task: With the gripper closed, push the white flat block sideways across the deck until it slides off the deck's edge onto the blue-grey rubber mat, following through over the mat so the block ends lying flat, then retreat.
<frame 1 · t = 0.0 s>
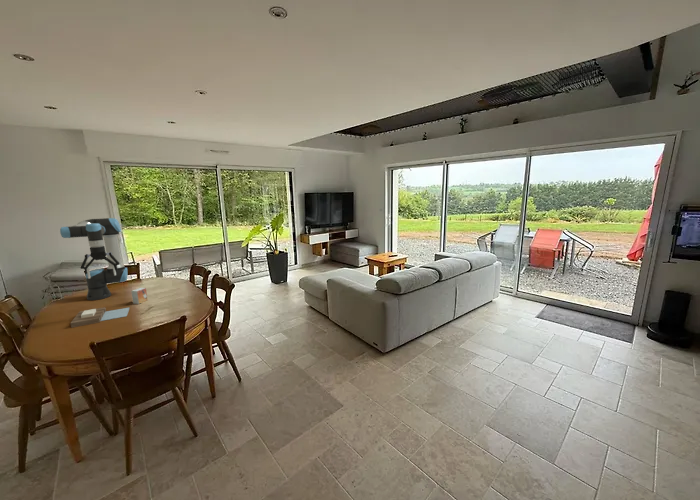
hand: (102, 276, 195), 28 cm above the table, fingers open, 13 cm apart
small box: (140, 302, 223), on the table
white flat block: (89, 314, 193), point 3 cm above the table, touching deck
deck: (89, 318, 194), on the table
mat: (115, 314, 201), on the table
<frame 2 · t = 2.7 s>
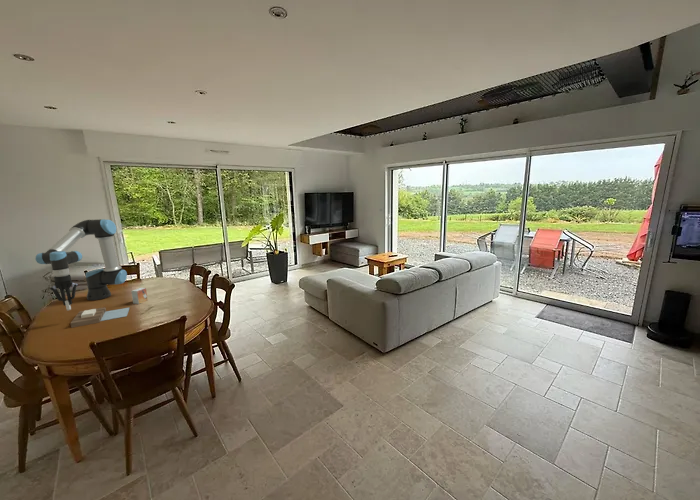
hand: (68, 309, 187), 9 cm above the table, fingers closed
nothing on the table moved.
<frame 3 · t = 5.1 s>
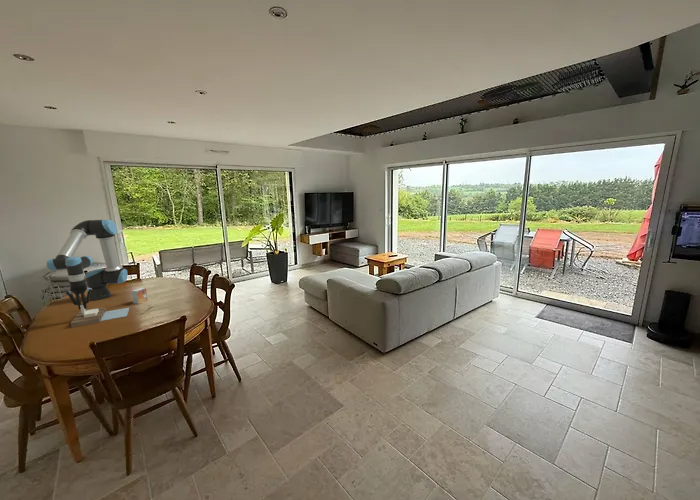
hand: (83, 313, 191), 4 cm above the table, fingers closed
white flat block: (91, 314, 194), point 3 cm above the table, touching deck
everything else where it was.
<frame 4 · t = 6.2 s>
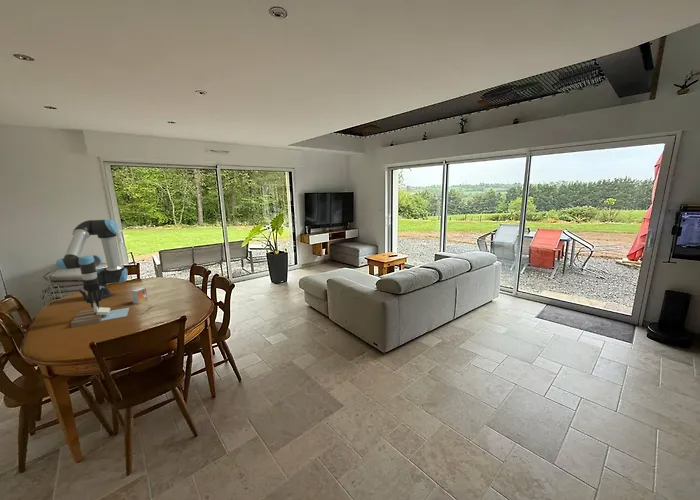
hand: (96, 311, 195), 4 cm above the table, fingers closed
white flat block: (103, 312, 197), point 3 cm above the table, tilted 16°, touching deck
everything else where it was.
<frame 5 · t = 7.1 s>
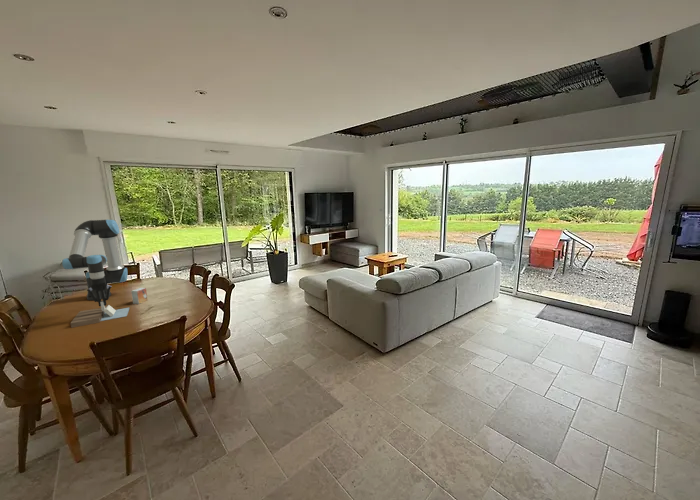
hand: (103, 310, 197), 4 cm above the table, fingers closed
white flat block: (108, 311, 198), point 3 cm above the table, tilted 57°, touching gripper, mat
everything else where it was.
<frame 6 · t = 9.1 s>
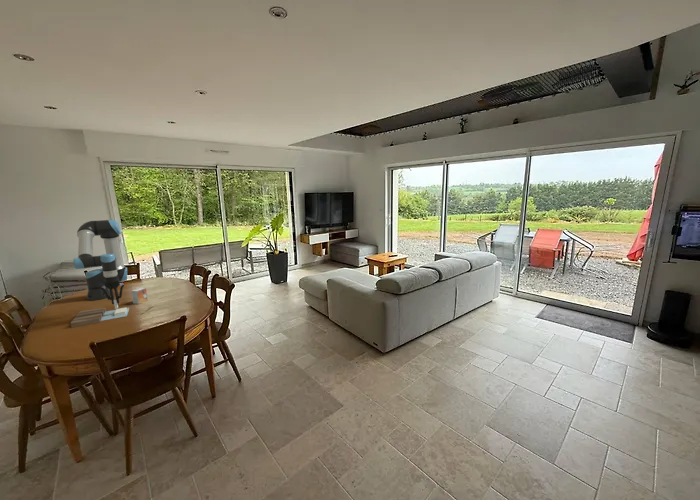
hand: (116, 307, 200), 4 cm above the table, fingers closed
white flat block: (120, 310, 202), point 2 cm above the table, tilted 180°, touching mat
everything else where it was.
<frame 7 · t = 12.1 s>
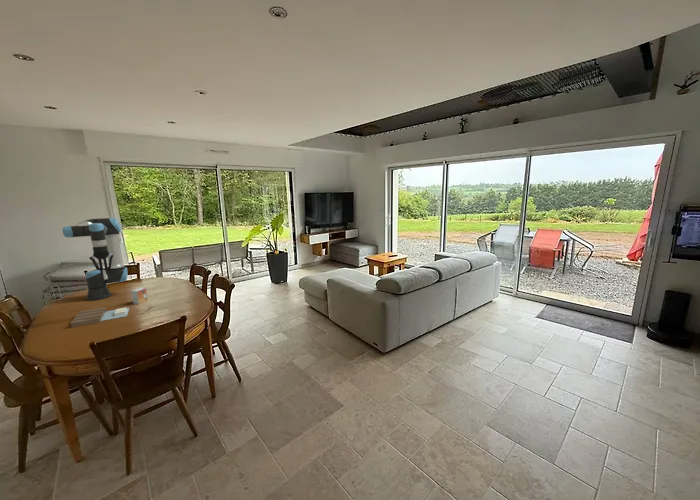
hand: (105, 278, 198), 26 cm above the table, fingers closed
nothing on the table moved.
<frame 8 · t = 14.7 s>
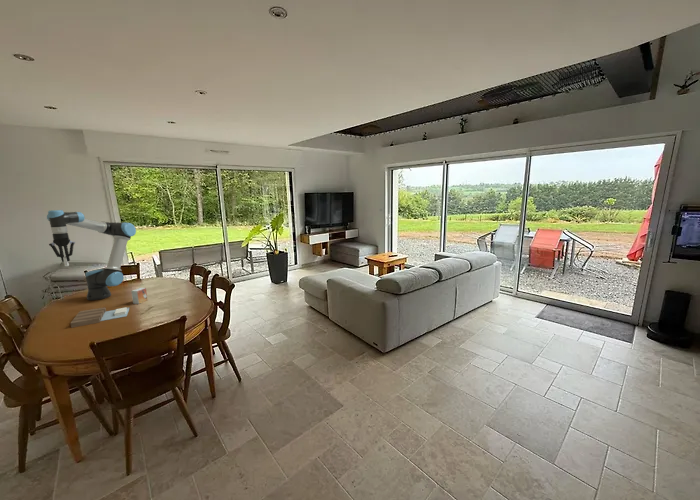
hand: (66, 266, 198), 34 cm above the table, fingers closed
nothing on the table moved.
at the end: white flat block point 2.3 cm above the table; white flat block inside the target area on the mat (2.8 cm from its centre), point 2.3 cm above the mat's base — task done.
